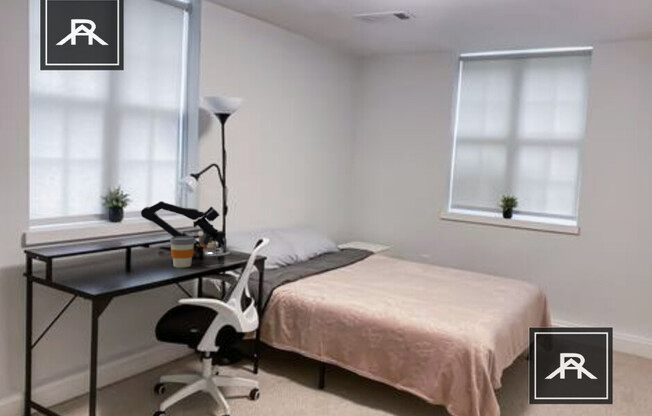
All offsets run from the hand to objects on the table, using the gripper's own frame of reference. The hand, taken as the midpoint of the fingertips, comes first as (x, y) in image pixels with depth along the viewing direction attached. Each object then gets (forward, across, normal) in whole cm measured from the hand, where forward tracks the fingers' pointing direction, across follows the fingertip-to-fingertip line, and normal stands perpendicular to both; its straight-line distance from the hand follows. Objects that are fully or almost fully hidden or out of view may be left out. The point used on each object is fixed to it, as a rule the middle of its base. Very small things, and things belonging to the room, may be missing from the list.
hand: (223, 244), depth 306 cm
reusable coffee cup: (-14, +10, -26) cm, 31 cm away
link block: (+1, -10, -5) cm, 11 cm away
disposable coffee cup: (+5, -25, -5) cm, 26 cm away
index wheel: (+4, -7, -5) cm, 9 cm away
